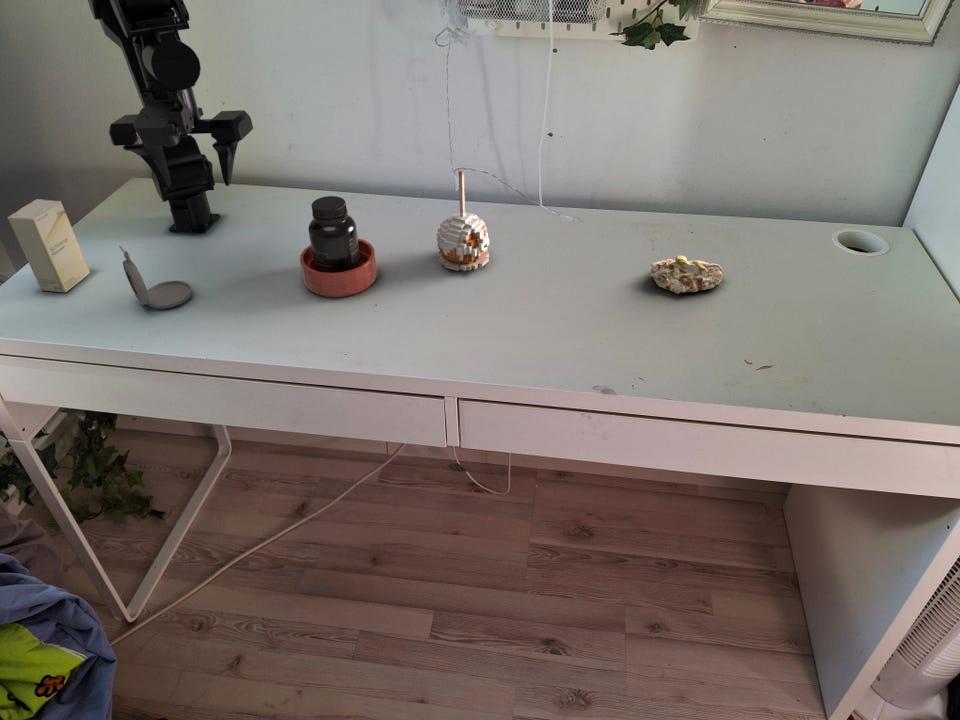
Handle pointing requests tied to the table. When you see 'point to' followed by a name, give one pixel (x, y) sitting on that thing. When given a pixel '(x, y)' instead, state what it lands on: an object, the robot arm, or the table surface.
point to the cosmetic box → (49, 245)
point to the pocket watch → (155, 288)
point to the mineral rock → (686, 274)
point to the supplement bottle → (333, 236)
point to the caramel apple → (463, 238)
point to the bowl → (340, 274)
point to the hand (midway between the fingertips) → (198, 186)
